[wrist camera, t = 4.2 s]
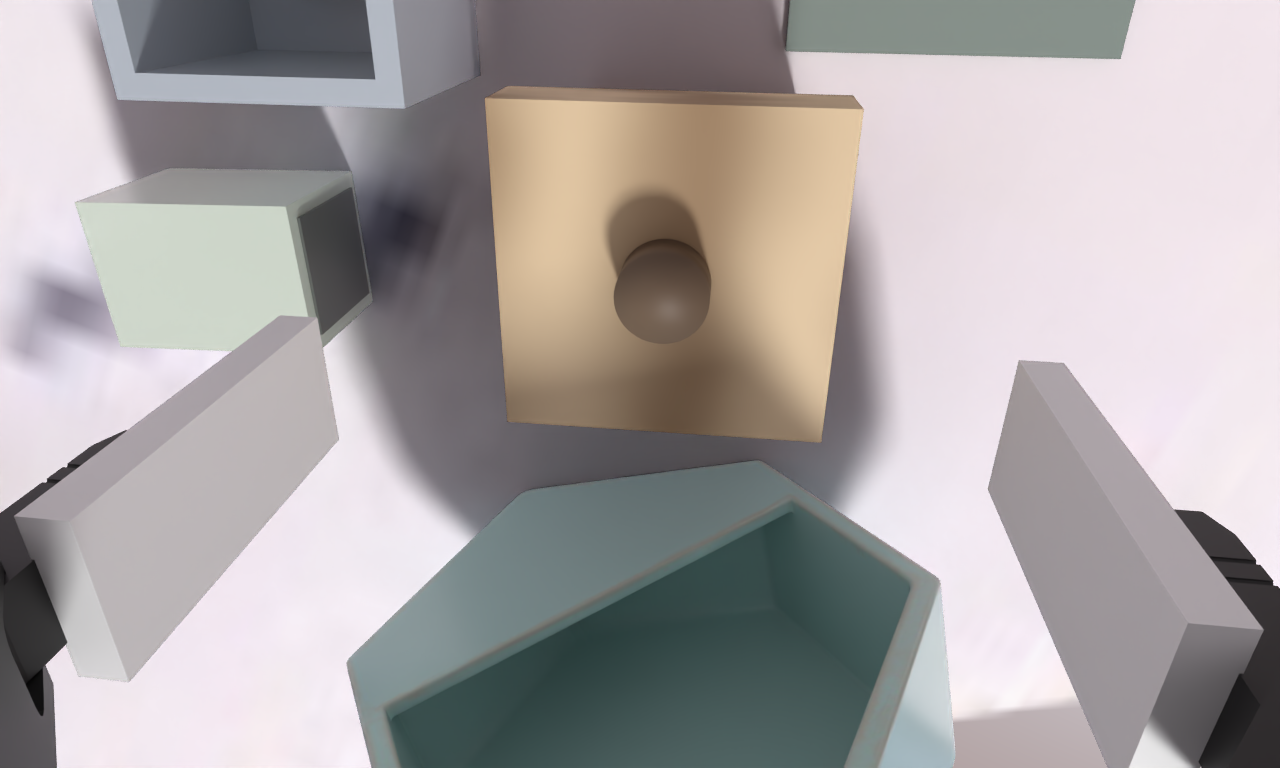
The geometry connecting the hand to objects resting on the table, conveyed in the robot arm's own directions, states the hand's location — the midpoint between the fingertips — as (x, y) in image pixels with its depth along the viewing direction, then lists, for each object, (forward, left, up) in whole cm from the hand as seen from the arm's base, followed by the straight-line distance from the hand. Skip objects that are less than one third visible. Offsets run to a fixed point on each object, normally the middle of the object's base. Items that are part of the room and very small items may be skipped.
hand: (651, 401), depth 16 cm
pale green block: (-16, -2, -15) cm, 22 cm away
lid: (0, 0, -9) cm, 9 cm away
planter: (0, -15, -15) cm, 21 cm away
